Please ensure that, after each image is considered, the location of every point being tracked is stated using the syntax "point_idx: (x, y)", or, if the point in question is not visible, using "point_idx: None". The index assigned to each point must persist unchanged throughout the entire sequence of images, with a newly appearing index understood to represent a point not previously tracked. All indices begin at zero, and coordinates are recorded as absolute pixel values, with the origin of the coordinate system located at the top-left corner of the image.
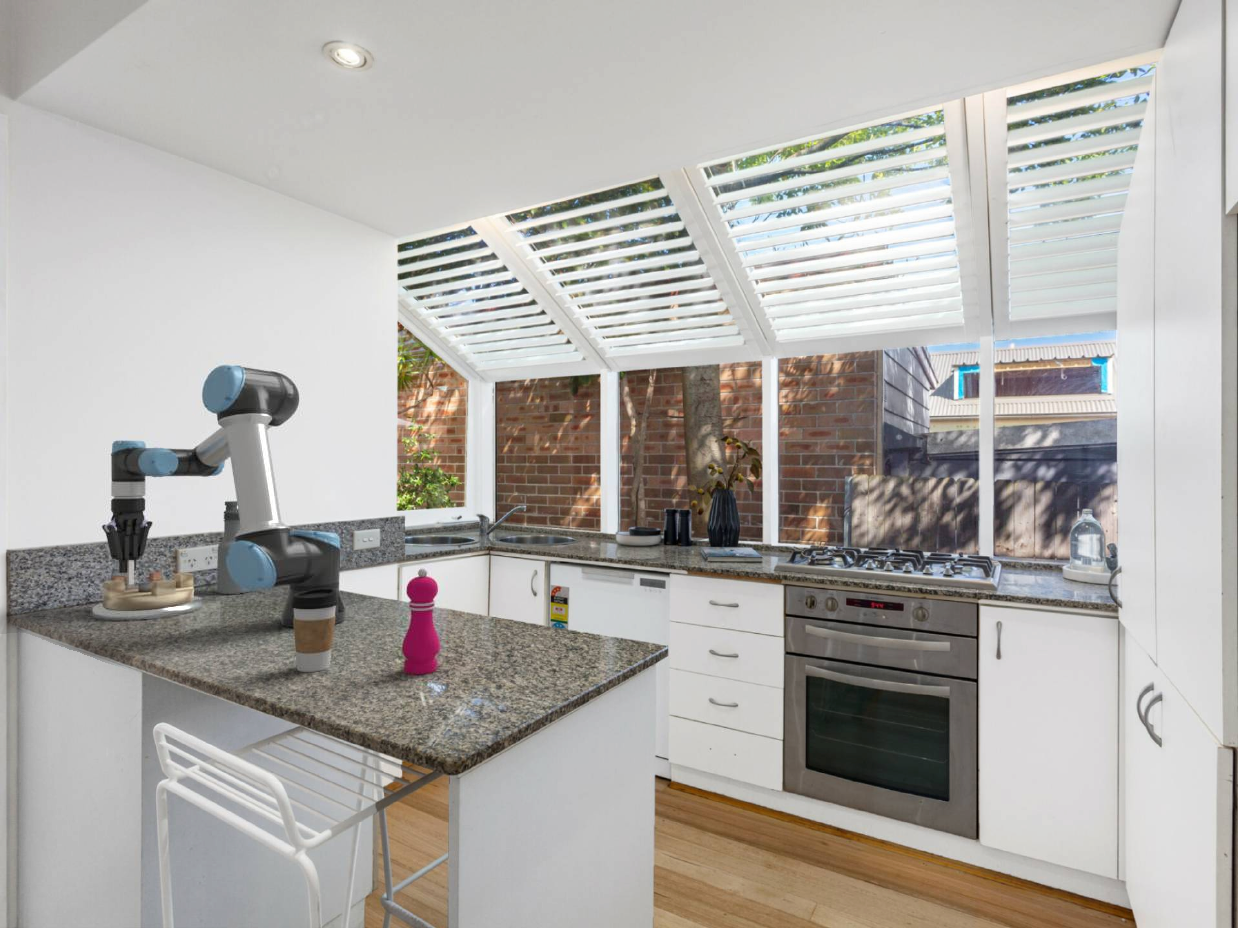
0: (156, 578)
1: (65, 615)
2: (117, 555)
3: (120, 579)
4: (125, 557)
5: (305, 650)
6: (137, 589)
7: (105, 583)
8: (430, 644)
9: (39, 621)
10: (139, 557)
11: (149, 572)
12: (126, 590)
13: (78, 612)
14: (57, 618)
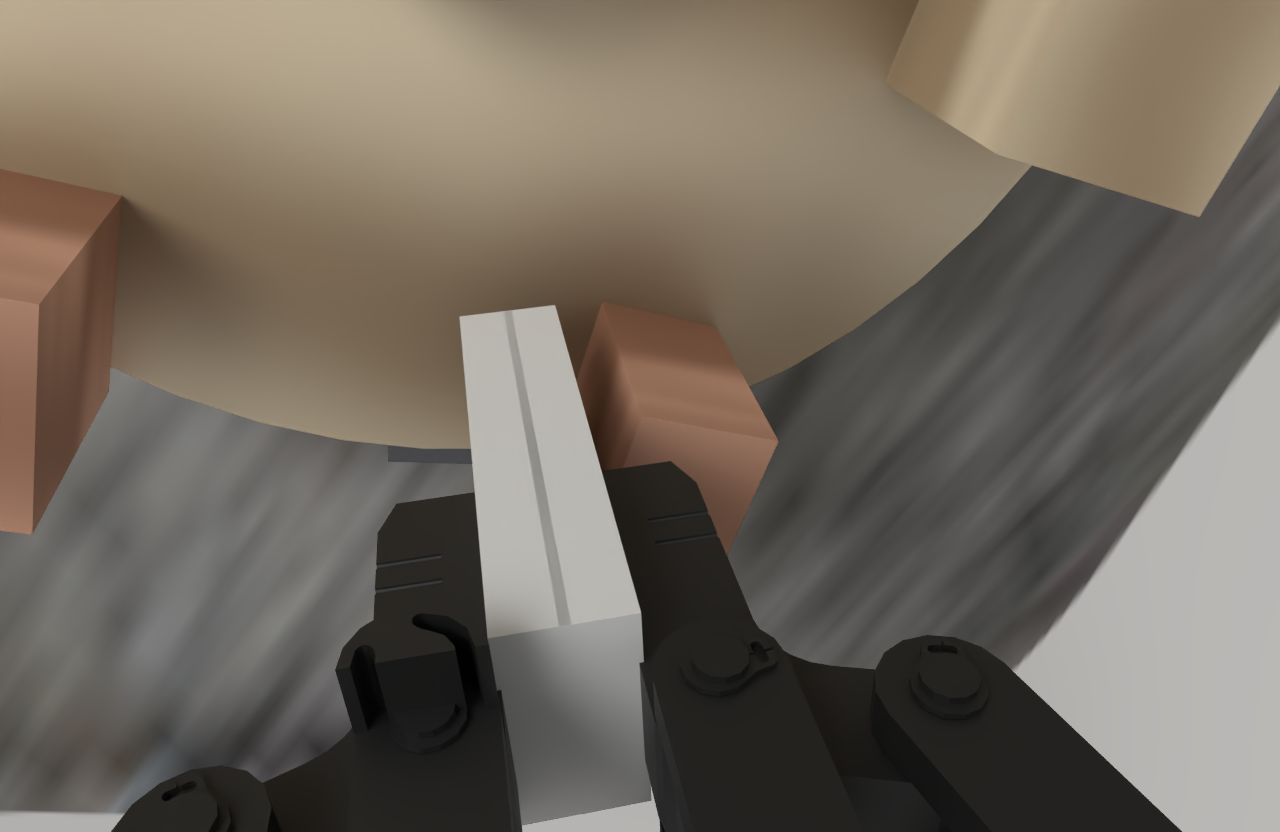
0: (14, 241)
1: (971, 412)
2: (1062, 734)
3: (694, 404)
4: (783, 688)
5: None
6: (489, 138)
7: (1250, 95)
8: None
9: (1223, 351)
10: (348, 661)
11: (20, 526)
12: (634, 209)
13: (834, 445)
14: (1097, 344)
